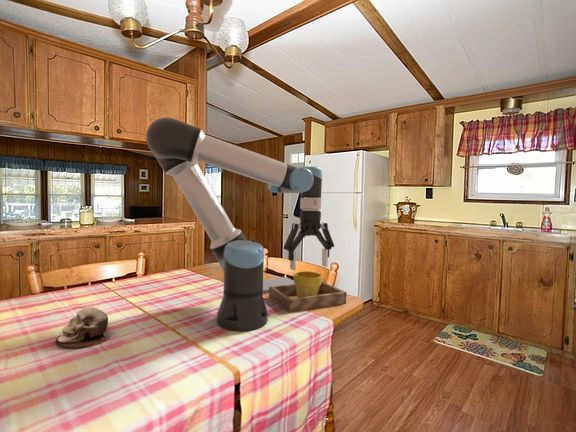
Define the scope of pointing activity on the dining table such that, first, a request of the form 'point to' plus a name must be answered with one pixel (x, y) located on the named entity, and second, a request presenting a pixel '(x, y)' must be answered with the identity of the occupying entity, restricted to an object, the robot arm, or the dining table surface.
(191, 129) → the robot arm
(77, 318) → the skull
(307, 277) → the plant pot
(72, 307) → the dining table surface
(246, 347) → the dining table surface
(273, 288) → the walnut crate
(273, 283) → the slate tray
